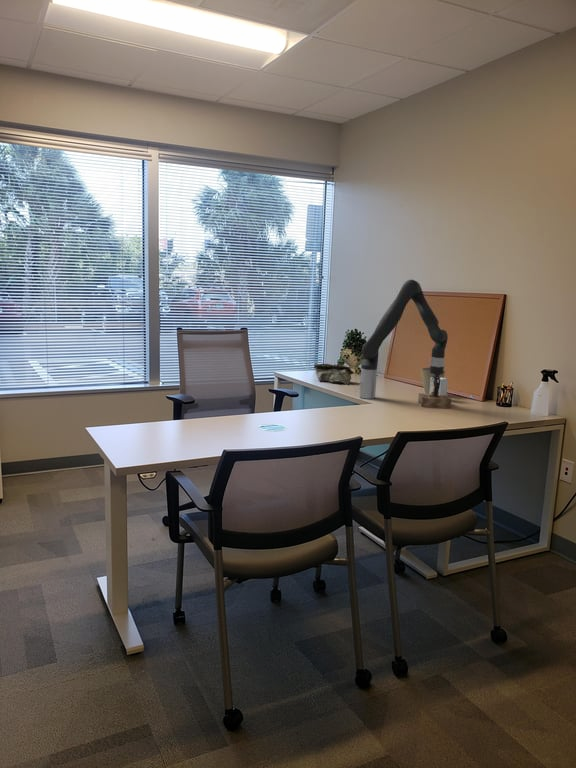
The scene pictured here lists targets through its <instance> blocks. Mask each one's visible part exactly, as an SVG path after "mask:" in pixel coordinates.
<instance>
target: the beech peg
mask: <svg viewBox="0 0 576 768" xmlns="http://www.w3.org/2000/svg"><path fill="white" fill-rule="evenodd" d="M436 387H438V386H437V385H436ZM438 396H439V390H438ZM438 396H434V385H433V383H432V393H431V397H438Z"/></svg>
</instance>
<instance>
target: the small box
mask: <svg viewBox="0 0 576 768" xmlns="http://www.w3.org/2000/svg"><path fill="white" fill-rule="evenodd" d="M440 380H441V381H440V387H439V394H441V395H447V396H448V394H447V393H448V378H446V377H444V378H441V377H440ZM431 393H432V377H431V379H430V392H429V394H431Z"/></svg>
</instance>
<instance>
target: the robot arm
mask: <svg viewBox="0 0 576 768" xmlns="http://www.w3.org/2000/svg"><path fill="white" fill-rule="evenodd" d="M410 300H412V301H413V303H414V304H415V306H416V309H417V310H418V312H419V315H420V318H421V320H422V322H423V324H424V325H425V327H426V328H427V331H428V334H429V337H430V338H431V340H432V341H433V342H434V346H433V347H432V349H431V357H430V364H429V367H430V373H431V374H433V376H432V383H433V385H434V396H438V390H439V387H440V381H441V380H440V377H439V375H440V374H443V373H444V369H445V355H446V354H445V353H446V352H445V351H446V347H447V344H448V343H447V342H448V333H447V331H446V330H444V329H441V328H440V326H439V323H440V322H439V320H438V317H436V314H435V313H434V311H433V310H432V308H431V307H430V305H429V303H428V301H427V299H426V298H425V295H424V292H423V290H422V286H421V284H420V283H419V282H418V281H417V280H414V279H408V280H406V281H405V282H404V283H403V284H402V286H401V288H400V290H399V291H398V293H397V295H396V297H395V299H394V300H393V301H392V303H391V304H390V305H389V307H388V308H387V310H386V311H385V312H384V314H383V315H382V317H381V319H380V320H379V321H378V324H377V326H376V328H375V330H374V332H373V333H372V335H370V337H369V338H368V339H367V341H366V342H365V343H364V344H363V346H362V348H361V353H362V359H361V365H360V366H361V368H360V370H361V371H360V382H359V398H360V399H369V400H370V399H373V400H374V399H375V398H376V389H377V373H378V364H379V349H380V348H381V346H382V343H383V342H384V341H385V340H386V338H387V337H388V336H389V335H390V334H391V333H392V331H393V330H394V329H395V328H396V326H397V325H398V324H399V322H400V320H401V319H402V316H403V313H404V311H405V309H406V306H407V305H408V304H409V302H410ZM436 385H437V386H438V387H436Z"/></svg>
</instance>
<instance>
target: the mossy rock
mask: <svg viewBox="0 0 576 768" xmlns="http://www.w3.org/2000/svg"><path fill="white" fill-rule="evenodd" d="M313 369H315V374H316V377H317V380H318V381H319V382H329V383H334V382H336V381H340V382H342V384H343V385H349V384H350V382H351V380H352V376H351V375H354V373H355V372H354V371H353V370H352V369H351V368H350V367H349V366H346V365H336V364H330V363H329V364H328V363H320V364H319V363H317V364H316V363H315V364H314V365H313Z"/></svg>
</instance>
